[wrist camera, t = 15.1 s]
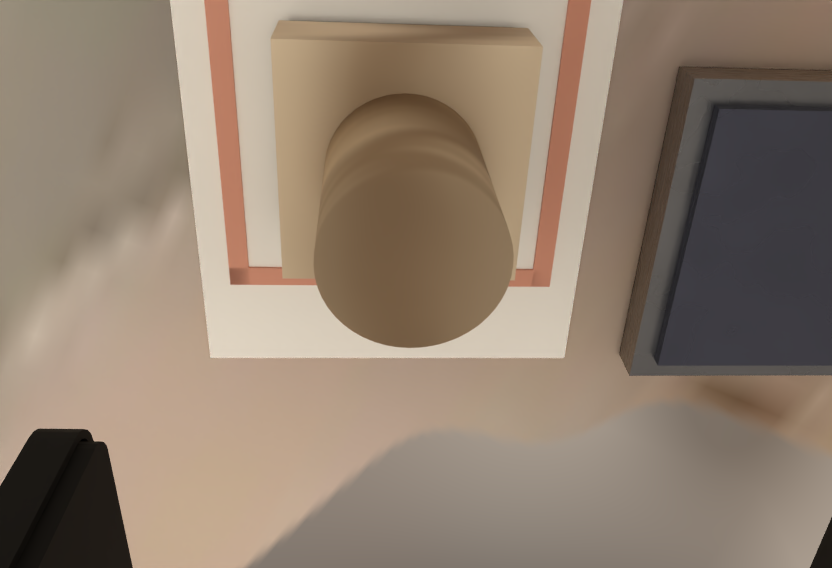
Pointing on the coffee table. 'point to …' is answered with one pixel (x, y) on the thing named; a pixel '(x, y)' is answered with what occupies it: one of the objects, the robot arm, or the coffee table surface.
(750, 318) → the ink pad
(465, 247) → the stamp
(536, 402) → the coffee table surface
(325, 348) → the paper
